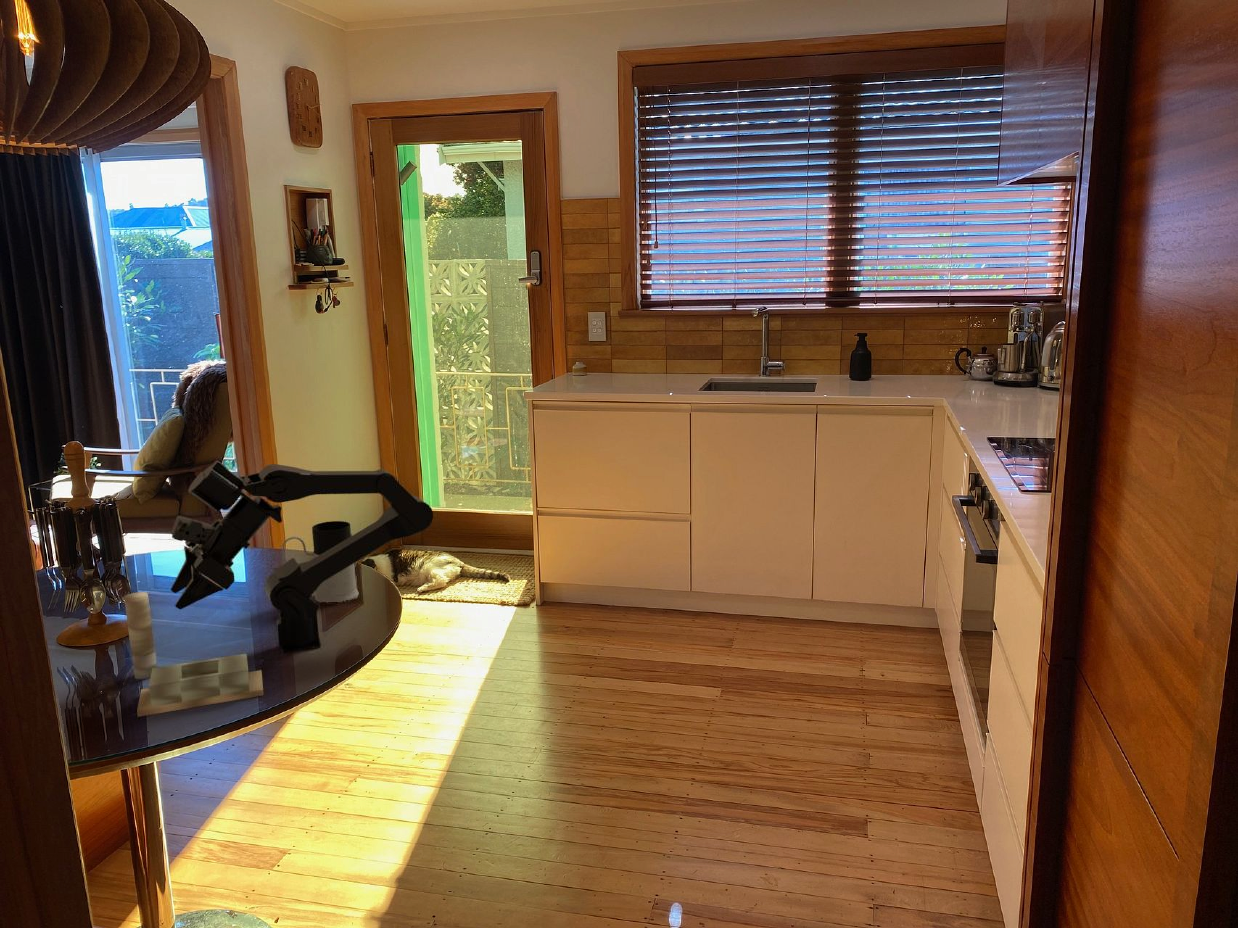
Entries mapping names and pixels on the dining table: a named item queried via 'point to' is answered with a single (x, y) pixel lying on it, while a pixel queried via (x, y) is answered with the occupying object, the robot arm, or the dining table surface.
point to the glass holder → (323, 540)
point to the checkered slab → (199, 684)
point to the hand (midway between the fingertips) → (175, 599)
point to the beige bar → (140, 634)
